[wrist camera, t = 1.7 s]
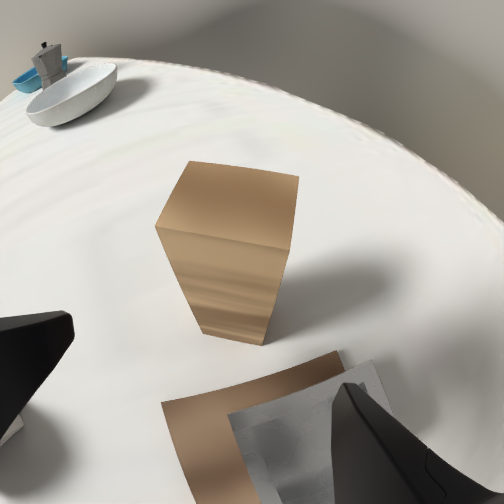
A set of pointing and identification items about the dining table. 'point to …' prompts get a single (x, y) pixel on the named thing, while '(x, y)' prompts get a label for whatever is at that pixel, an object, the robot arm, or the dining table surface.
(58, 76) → the coffeepot
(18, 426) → the grey napkin holder
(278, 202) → the oak block
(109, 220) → the dining table surface
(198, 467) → the walnut board
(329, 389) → the steel end cap
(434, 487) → the robot arm
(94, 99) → the serving bowl
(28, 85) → the casserole dish
